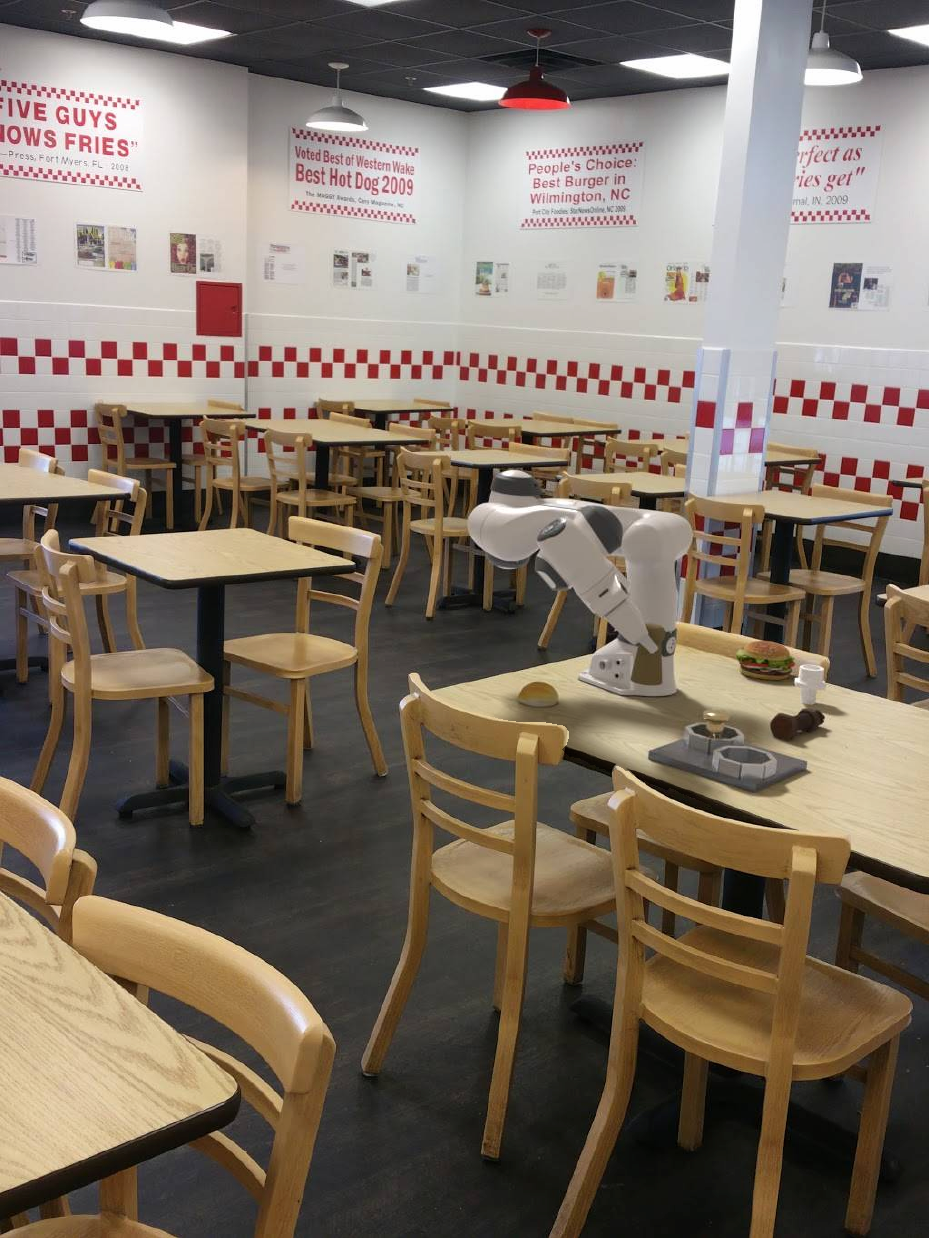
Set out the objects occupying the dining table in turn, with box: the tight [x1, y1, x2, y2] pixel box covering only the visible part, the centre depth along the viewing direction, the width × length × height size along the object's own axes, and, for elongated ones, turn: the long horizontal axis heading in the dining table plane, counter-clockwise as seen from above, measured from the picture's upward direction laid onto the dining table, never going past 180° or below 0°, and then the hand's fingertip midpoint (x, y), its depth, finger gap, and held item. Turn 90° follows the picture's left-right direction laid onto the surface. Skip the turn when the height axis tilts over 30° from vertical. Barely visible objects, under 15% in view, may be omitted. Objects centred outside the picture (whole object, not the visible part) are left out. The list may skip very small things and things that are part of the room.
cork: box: [630, 623, 665, 686], centre depth 223 cm, size 6×6×11 cm
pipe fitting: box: [793, 664, 827, 705], centre depth 262 cm, size 6×7×8 cm
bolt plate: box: [647, 709, 808, 793], centre depth 218 cm, size 22×19×8 cm
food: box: [735, 640, 796, 681], centre depth 284 cm, size 14×14×8 cm
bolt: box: [769, 707, 826, 742], centre depth 240 cm, size 6×5×15 cm
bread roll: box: [517, 681, 559, 708], centre depth 251 cm, size 8×9×4 cm
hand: (653, 646), depth 222 cm, fingers closed on cork, 5 cm apart
